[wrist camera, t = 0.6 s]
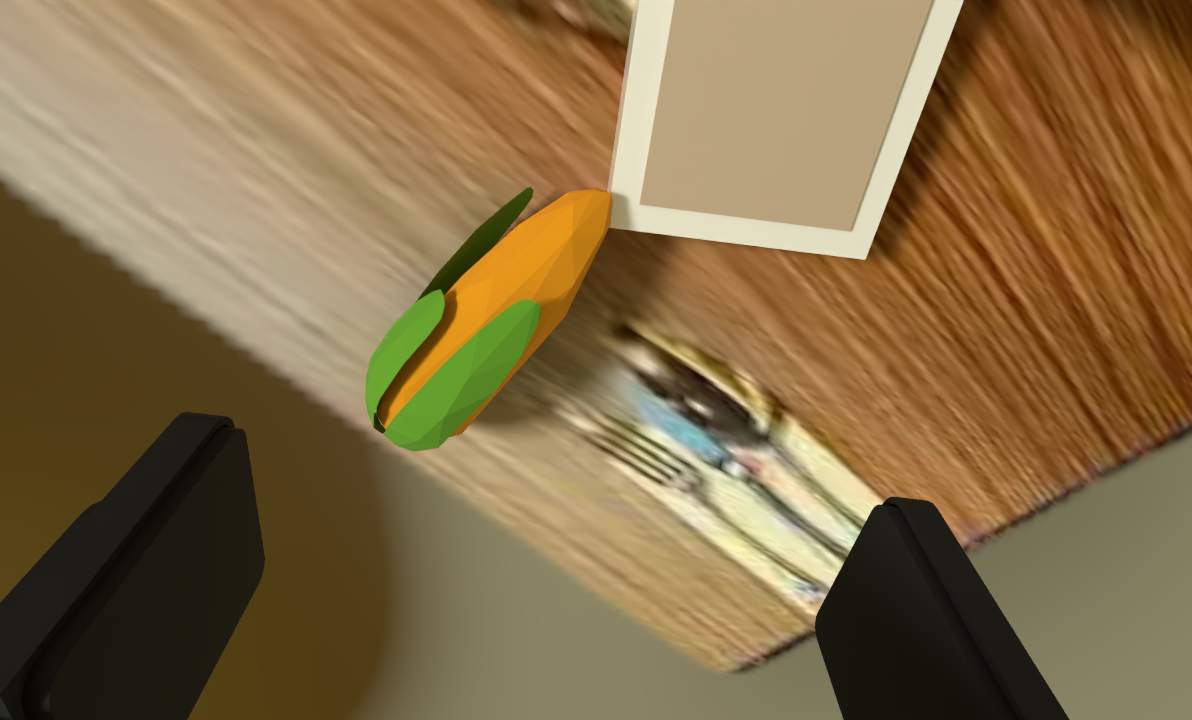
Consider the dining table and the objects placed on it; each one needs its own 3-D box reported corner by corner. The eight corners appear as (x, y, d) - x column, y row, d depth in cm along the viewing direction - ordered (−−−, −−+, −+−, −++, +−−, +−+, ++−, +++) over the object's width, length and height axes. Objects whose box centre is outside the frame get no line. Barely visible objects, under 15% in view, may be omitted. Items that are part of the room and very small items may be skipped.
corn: (312, 445, 35) (538, 162, 27) (350, 365, 42) (543, 115, 33) (430, 504, 38) (666, 265, 30) (449, 421, 44) (649, 203, 36)
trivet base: (648, -96, 29) (654, -102, 26) (948, -47, 30) (984, -47, 27) (604, 207, 36) (605, 228, 34) (846, 238, 37) (867, 261, 35)
